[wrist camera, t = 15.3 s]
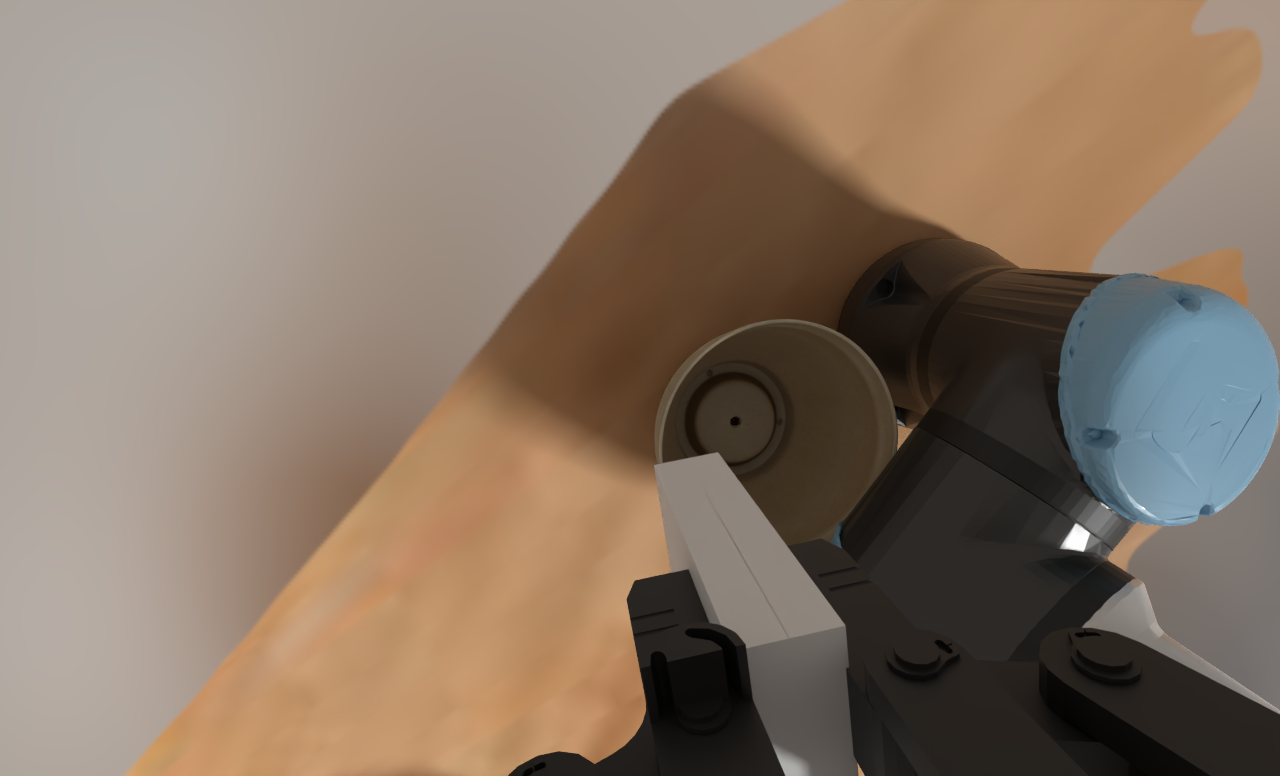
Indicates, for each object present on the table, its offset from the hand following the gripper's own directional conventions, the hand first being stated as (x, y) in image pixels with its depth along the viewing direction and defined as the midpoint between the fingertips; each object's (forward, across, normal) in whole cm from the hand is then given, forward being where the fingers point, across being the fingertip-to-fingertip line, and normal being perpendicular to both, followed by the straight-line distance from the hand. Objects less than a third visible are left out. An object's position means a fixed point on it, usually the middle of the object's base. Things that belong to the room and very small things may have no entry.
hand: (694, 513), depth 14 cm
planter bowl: (+34, +9, -10) cm, 37 cm away
